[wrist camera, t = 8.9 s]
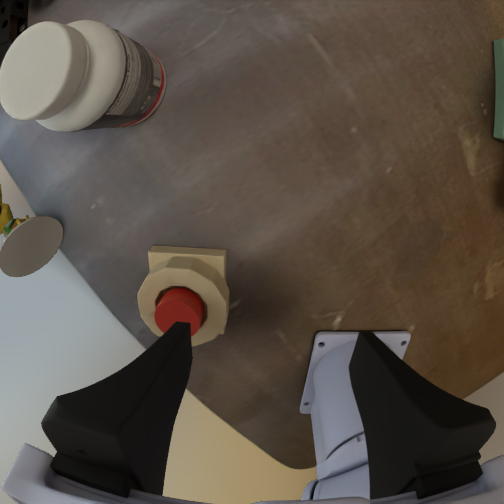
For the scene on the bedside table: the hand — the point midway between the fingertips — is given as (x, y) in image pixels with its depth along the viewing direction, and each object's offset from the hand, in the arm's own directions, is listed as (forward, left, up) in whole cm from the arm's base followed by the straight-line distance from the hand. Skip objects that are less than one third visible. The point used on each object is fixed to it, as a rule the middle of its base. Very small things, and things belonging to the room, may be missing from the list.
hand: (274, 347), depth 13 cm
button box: (-2, +5, -9) cm, 10 cm away
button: (-2, +5, -6) cm, 8 cm away
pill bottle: (+11, +9, -9) cm, 17 cm away
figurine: (+1, +16, -6) cm, 18 cm away
